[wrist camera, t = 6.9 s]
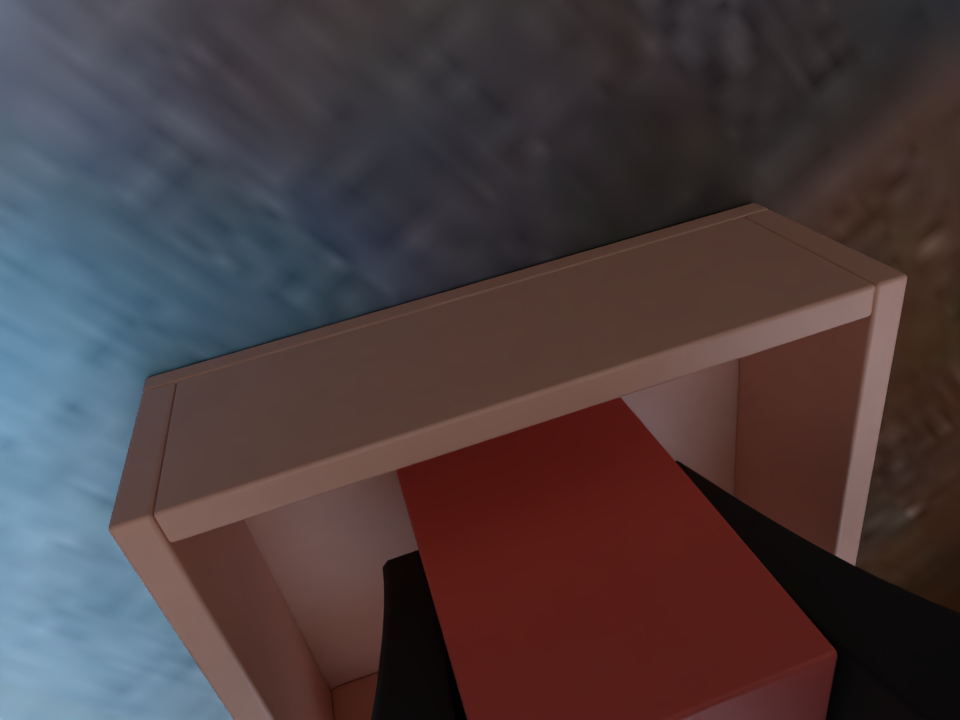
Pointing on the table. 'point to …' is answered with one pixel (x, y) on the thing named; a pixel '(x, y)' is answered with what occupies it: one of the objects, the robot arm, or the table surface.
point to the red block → (603, 584)
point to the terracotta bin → (492, 431)
